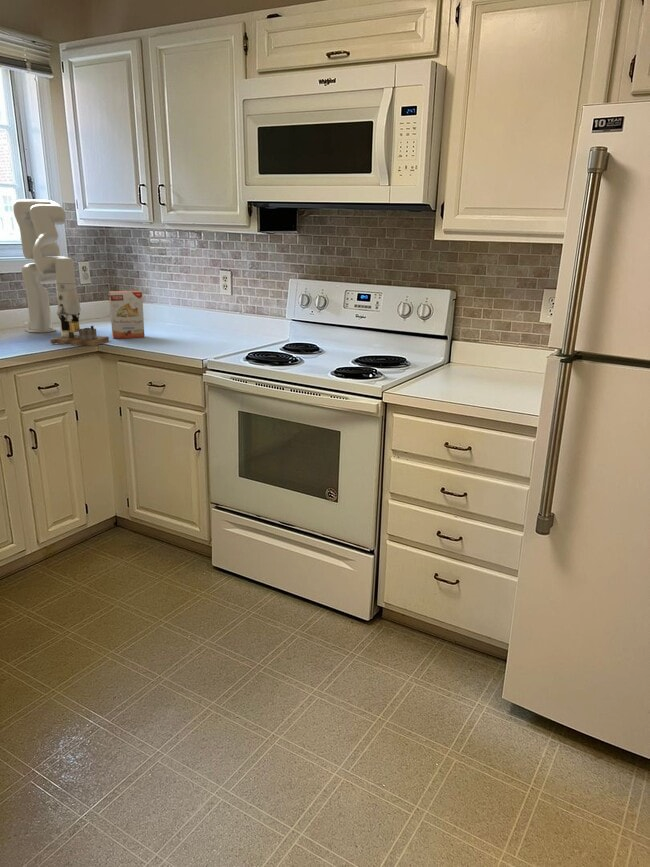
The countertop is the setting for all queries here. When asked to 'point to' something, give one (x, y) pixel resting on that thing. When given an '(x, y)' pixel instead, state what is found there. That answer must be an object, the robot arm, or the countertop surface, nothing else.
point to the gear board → (79, 341)
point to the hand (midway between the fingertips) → (70, 328)
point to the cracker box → (127, 314)
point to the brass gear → (73, 326)
